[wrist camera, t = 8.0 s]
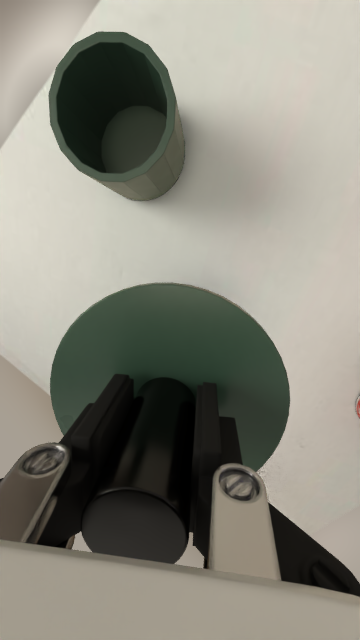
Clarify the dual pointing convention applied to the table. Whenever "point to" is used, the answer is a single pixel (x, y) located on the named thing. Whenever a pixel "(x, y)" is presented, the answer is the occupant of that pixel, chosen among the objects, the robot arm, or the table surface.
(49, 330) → the table surface
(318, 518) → the table surface
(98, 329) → the trash can lid
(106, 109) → the trash can
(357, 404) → the pill bottle
